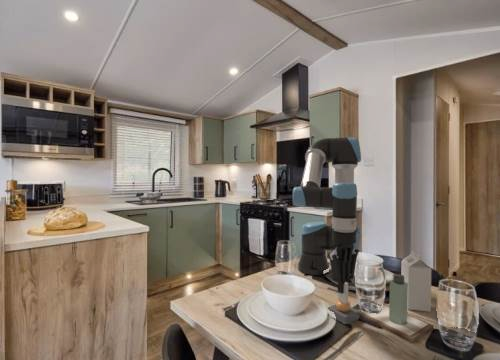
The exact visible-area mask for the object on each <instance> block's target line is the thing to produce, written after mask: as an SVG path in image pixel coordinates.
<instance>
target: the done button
mask: <svg viewBox="0 0 500 360" xmlns="http://www.w3.org/2000/svg"><path fill="white" fill-rule="evenodd" d="M335 305H336V309H337V310H339V311H342V312H348V311H350V307H351V302H350V301H349V300H348V303H347V304H344V303H342V302H340V301H338V299H336V301H335Z"/></svg>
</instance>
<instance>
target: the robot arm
mask: <svg viewBox="0 0 500 360" xmlns="http://www.w3.org/2000/svg"><path fill="white" fill-rule="evenodd" d="M361 152H362V151H361V145H360V141H359V139H358V138H357V137H348V136H347V137H329V138H327V137H326V138H322V139H319V140H317V141H315V142H313V143H312V144H311V145H310V146H309V147H308V149H306V152H305V154H304V160H305V165H304V170H303V174H302V177H301V178H302V179H301V183H300V186H294V187H293V188H292V204H293V205H294V206H295V207H303V208H322V209H324V208H325V209H332V213H331V214H332V215H331V222H330V225H327V223H326V221H312V222H311V221H310V222H306V223H304V224H303V225H302V228H301V254H300V258H299V261H298V263H297V270H298V271H299V272H301V273H303V274H306V275H310V276H323V275H322V274H323V271H324V270H326V269H328V268H329V267H330V271H331V276H332V281H333V282H335V283H337V294H338V295H337V300H338V301H340V302H342V303H344V304H347V303H348V301H349V291H350V290H349V288H350V287H349V286H350V284H352V283H353V280H354V277H355V271H356V265H357V258H358V255H359V252H360V250H359V244H360V237H361V235H360V234H361V228H360V227H359V226H358V223H357V212H358V211H357V209H358V208H357V206H358V188H357V184H356V183H355V169H356V168H357V167H358V163H361V161H362V155H361V154H362V153H361ZM325 163H331V167H333V169H334V183H333V185H332V187H325V186H324V187H323V186H321V181H322V175H323V174H322V173H323V166H324V164H325ZM327 251H332V252H329V253H327ZM327 257H328V258H327ZM328 259H329V262H328ZM329 263H330V265H329Z"/></svg>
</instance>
